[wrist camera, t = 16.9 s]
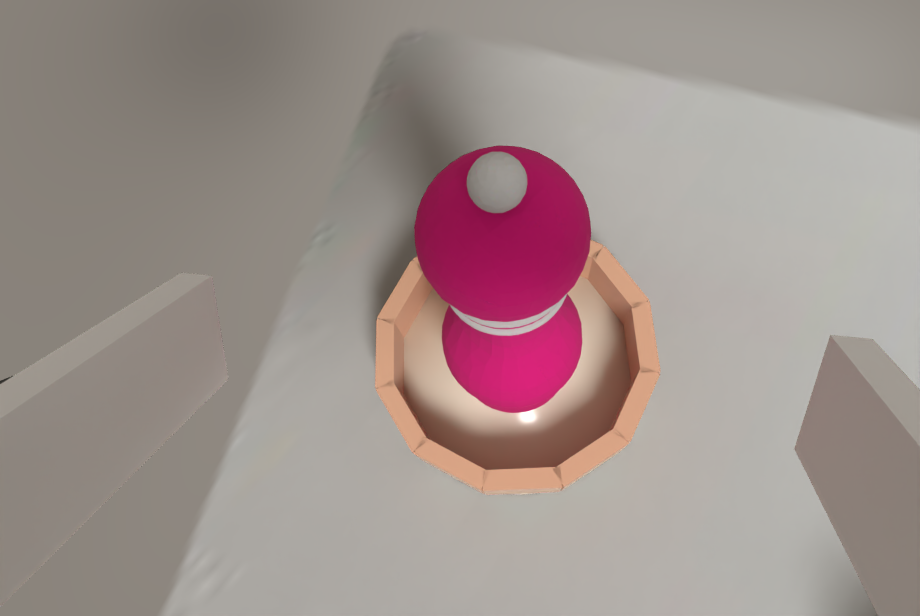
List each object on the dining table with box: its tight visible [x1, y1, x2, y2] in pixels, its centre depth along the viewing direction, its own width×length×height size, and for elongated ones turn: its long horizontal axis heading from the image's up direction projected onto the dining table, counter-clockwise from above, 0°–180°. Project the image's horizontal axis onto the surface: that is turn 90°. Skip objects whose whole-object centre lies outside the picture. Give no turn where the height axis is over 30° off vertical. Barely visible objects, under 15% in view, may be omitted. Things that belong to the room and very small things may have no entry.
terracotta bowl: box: [375, 240, 660, 495], centre depth 35 cm, size 15×15×4 cm
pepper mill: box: [414, 146, 591, 413], centre depth 26 cm, size 7×7×20 cm
